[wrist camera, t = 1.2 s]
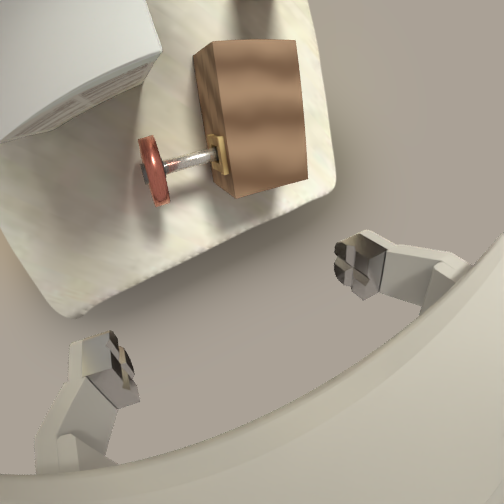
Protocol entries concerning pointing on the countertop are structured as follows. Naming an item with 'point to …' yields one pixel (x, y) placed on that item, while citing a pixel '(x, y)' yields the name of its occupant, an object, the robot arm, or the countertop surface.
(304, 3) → the countertop surface
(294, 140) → the eye block
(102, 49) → the supplement box
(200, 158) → the pin
